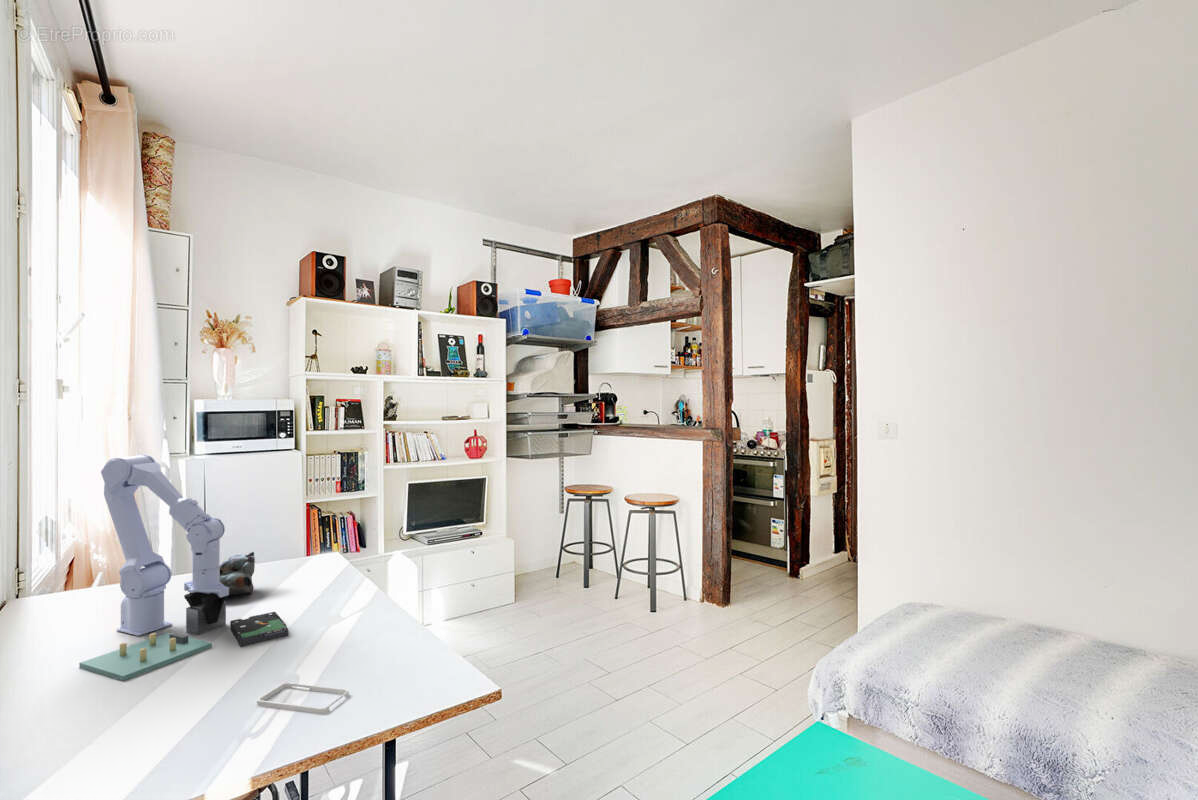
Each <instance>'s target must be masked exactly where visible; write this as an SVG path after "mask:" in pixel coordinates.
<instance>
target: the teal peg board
mask: <svg viewBox="0 0 1198 800" xmlns="http://www.w3.org/2000/svg"><path fill="white" fill-rule="evenodd" d="M127 644H128V643H127V642H122V643H119V649H117V650H114V651H110V652H107V653H105V654H102V655H99V656H96V657H93V658H90V659H87V660H84V661H82V662H79V664H78V665H79V668H80V669H83V670H85V671H86V670H87V671H88V672H89V671H90V672H93V673H96V674H99V675H103V676H104V677H105V676H106V677H109V678H112V679H115V680H119V681H122V682H124V681H127V680H129V679H133V678H135V677H137V676H141V675H143V674H146V673H147V672H150V671H153V670H156V669H158V668H161V667H163V666H166V665H168V664H171V663H174V662H176V661H178V660H182V659H185V658H187V657H189V656H192V655H194V654H197V653H200V652H202V651H205V650H208V649H210V648H212V647H213V643H212V642H210V641H205V640H201V639H197V638H194V637H189V635H186V634H182V633H178V632H173V633H172V632H167V633H163V634H161V635H158V636H157V633H156V632H151V633H150V634H149V639H146V640H143V641H141V642H136V643H135V644H131V645H129V646H127Z"/></svg>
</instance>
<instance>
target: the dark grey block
mask: <svg viewBox="0 0 1198 800" xmlns="http://www.w3.org/2000/svg"><path fill="white" fill-rule="evenodd" d="M226 602H227V601H226V600H225V602H224V604H223V606H222V608H221V611H220V615H219V618H218V622H216V623H213V624H208V622H207V617H206V610H205V606H204V604H203V603H201V604H198V605H194V606H191V607H190V606H187V607H186V608H185V609H186V610H185V617H186V618H185V623H186V624H185V632H186V633H189V634H193V635H197V636H198V635H201V634H204V633H206V632H210V631H212V630H215V629H218V628H221V627H223V626H226V625H227V603H226Z"/></svg>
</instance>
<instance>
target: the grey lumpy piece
mask: <svg viewBox="0 0 1198 800" xmlns="http://www.w3.org/2000/svg"><path fill="white" fill-rule="evenodd" d="M255 560H256V557H255V552H254V551H252V552H249V553H248V554H242V553H241V554H235V555H233V556H229V558H228V559H225V560H224V561H223V562H222V563H220V583H221V584H223V585H224V586H225V587H229V595H228V596H233V595H234V596H235V595H247V596H250V595H252V594H253V592H254V587H255V585H253V579H252V576H253V575H254V573H255V567H256V566H255V563H256V561H255ZM209 596H210V595H209Z"/></svg>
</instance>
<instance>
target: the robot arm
mask: <svg viewBox="0 0 1198 800" xmlns="http://www.w3.org/2000/svg"><path fill="white" fill-rule="evenodd" d="M100 473H101V476H102V479H103V483H104V485H103V495H104V499H105V502H106V505H107V509H108V511H109V514H110V518H111V520H112V523H113V526H114V528H115V532H116V535H117V538H118V540H119V543H120V546H121V550H122V553H123V556H124V559H125V561H124V563H123V565H122V567H120V569H119V575H120V581H119V582H120V583H119V586H120V587H119V588H120V590H121V593H123V594H124V595H125V596H124V597H123V599H122V600H121V603H120V626H119V627H117V628H116V631H117V632H121V633H125V634H128V635H129V634H130V635H133V636H136V637H137V636H138V637H139V636H142V635H146V634H148V633H153V632H155V631H157V630H161V629H164V628H168V627H169V626H172V625H173V622H171V621H166V620H165V590H167V584H168V583H170V581H171V579H172V569H171V568H170V566H169V565H168V564H167V563H166V562H165V561H164V558H163V556H162V555H160V554H158V553H156V552H154V551H153V549H152V545H151V542H150V540H149V536H148V533H147V531H146V528H145V525H144V522H143V519H142V516H141V513H140V511H139V507H138V503H137V500H136V498H135V495H134V494H135V493H136V491H137V490H138V489H139V487H141V486H144V487H147V489H148V490H150V491H151V492H152V493H153V494H155V496H157V497H158V498H159V499H160V500H162V501H163V502H164V503H165V504H166V505H167V506H168V507H169V510H168V514H169V516H171V517H172V519H173V520H175V522H177V523H178V525H179V526H180V527H182V528H183V529H184V530H185V532H186V534H185V536H186V540H187V542H188V543H189V545H190V551H192V553H191V554H192V580H191V581H186V582H184V585H183V587H184V588H183V590H184V591H185V592H187V593H185V594H184V599H185V601H186V602H187V603H188V605H189V607H191V606H194V605H198V604H201V603H203V604H204V606H205V610H206V617H207V622H208V624H213V623H216V622H218V618H219V615H220V611H221V608H222V606H223V604H224V602H225V601H226V600H227V598H228V596H230V595H229V587H225V586H224V585H223V584H221V583H220V565H221V563H220V562H221V560H220V559H221V558H220V557H221V556H220V553H221V552H220V551H221V550H220V546H221V545H220V543H221V542H220V539H221V538H222V537H223V536H224V534H225V531H226V529H225V528H226V527H225V524H224V523H223V521H222V520H221V519H220V518H217V517H212V516H211V515H210V514H209V513H207V512H206V511H205V510H203V508H202V507H201V506H200V505H199V502H198V501H197V500H196V499H192V498H191V497H183V495H182V494H181V493H180V492H179V491H178V490H177V488H176V487H175V486H174V484H173V483H171V482H170V480H169V479H168V477H166V475H165V474H164V473H163V472H162V469H161V464H160V463H158V462H157V461H156V460H155V458H153V457H152V456H151V455H149V454H140V455H133V456H123V457H119V456H118V457H117V456H116V457H113V458H110V459H109V460H108V461H107V462H106V463H105V465H104V466H103V468H102V469H101V471H100ZM209 595H210V596H209Z"/></svg>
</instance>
